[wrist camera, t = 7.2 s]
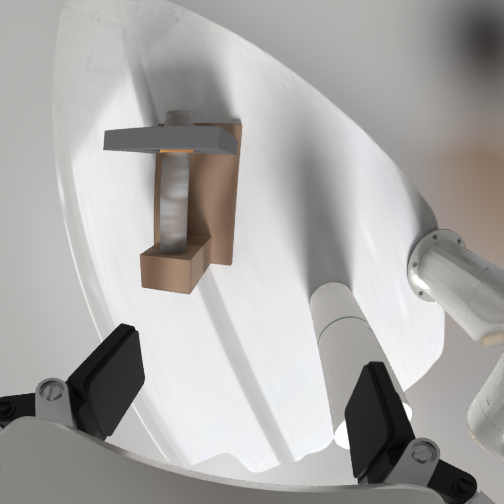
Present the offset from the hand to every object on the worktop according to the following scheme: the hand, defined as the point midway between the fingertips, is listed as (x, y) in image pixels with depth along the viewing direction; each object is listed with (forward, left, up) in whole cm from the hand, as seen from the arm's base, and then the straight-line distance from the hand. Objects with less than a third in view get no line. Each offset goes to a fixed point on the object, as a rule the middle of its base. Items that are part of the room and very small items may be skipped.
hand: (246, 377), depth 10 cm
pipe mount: (+11, -4, -31) cm, 33 cm away
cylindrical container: (-11, +11, -31) cm, 35 cm away
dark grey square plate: (+11, -10, -28) cm, 32 cm away
